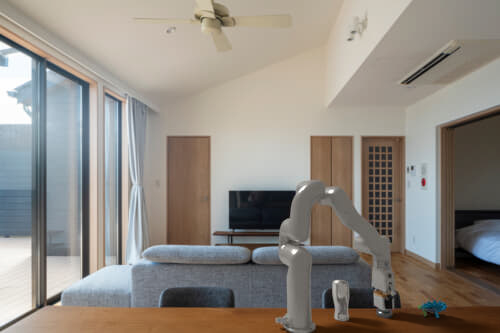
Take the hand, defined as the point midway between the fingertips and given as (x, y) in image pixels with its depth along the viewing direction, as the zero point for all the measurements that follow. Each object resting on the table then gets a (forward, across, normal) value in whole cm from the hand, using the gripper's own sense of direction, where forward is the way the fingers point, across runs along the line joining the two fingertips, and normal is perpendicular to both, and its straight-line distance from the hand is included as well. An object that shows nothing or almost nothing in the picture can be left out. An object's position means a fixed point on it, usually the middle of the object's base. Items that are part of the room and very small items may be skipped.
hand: (383, 305), depth 126 cm
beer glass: (+4, +2, +20) cm, 20 cm away
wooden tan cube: (+1, 0, 0) cm, 1 cm away
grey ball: (+4, 0, 0) cm, 4 cm away
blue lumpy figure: (+4, -5, -20) cm, 22 cm away
